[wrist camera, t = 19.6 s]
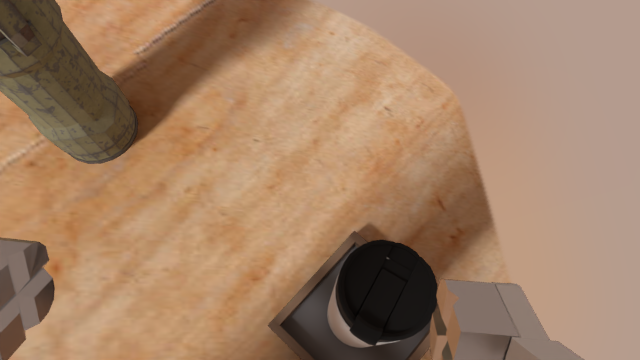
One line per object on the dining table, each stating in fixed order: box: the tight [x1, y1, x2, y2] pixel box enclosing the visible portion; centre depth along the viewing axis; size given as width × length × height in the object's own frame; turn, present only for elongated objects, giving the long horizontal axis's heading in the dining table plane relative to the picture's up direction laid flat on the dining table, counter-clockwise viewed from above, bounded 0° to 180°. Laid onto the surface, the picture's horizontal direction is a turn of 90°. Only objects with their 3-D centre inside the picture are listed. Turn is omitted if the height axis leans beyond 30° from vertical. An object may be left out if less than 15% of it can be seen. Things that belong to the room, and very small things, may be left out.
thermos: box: [0, 0, 138, 164], centre depth 38 cm, size 9×12×35 cm
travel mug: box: [327, 240, 437, 348], centre depth 37 cm, size 6×7×20 cm
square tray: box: [268, 231, 439, 360], centre depth 46 cm, size 13×13×2 cm
